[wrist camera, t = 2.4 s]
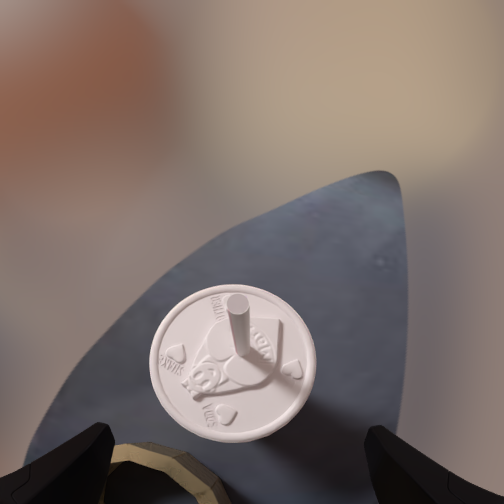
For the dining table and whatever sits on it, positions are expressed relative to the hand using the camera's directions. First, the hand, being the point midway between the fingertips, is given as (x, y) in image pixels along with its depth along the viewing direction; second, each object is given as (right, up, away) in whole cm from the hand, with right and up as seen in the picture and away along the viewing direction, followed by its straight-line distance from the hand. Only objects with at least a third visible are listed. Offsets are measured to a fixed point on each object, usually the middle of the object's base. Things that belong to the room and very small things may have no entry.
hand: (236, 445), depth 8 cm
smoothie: (0, -3, +10) cm, 11 cm away
